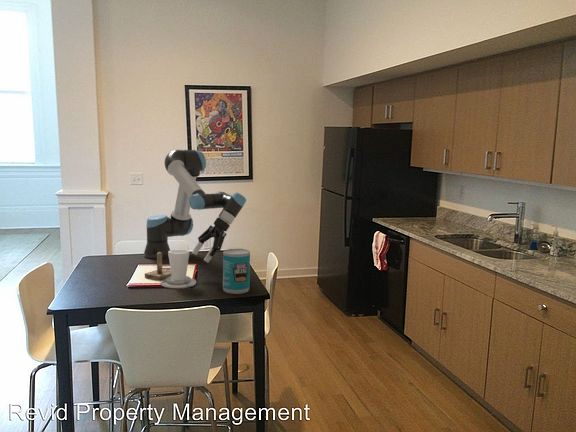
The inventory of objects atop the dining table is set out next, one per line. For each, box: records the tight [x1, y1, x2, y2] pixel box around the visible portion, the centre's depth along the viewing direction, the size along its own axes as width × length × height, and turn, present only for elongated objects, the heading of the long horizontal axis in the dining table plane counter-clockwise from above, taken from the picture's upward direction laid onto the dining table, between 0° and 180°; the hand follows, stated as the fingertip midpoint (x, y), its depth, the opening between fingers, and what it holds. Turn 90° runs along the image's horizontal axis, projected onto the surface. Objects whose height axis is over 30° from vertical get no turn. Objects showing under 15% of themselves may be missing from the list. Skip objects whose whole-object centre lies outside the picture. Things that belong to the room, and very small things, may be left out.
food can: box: [222, 248, 251, 295], centre depth 215 cm, size 12×12×18 cm
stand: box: [144, 252, 171, 282], centre depth 233 cm, size 10×10×12 cm
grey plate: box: [160, 275, 197, 290], centre depth 223 cm, size 16×16×2 cm
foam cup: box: [167, 248, 190, 280], centre depth 222 cm, size 10×9×13 cm
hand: (199, 257), depth 231 cm, fingers open, 13 cm apart
